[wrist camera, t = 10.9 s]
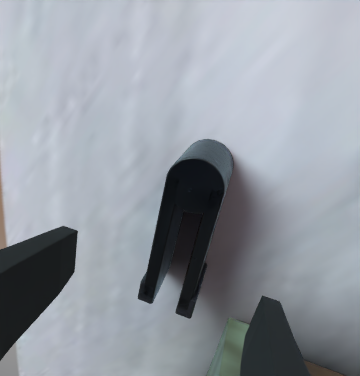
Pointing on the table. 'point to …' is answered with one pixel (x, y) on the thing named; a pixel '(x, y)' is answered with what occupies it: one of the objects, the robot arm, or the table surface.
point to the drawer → (232, 352)
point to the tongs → (194, 203)
